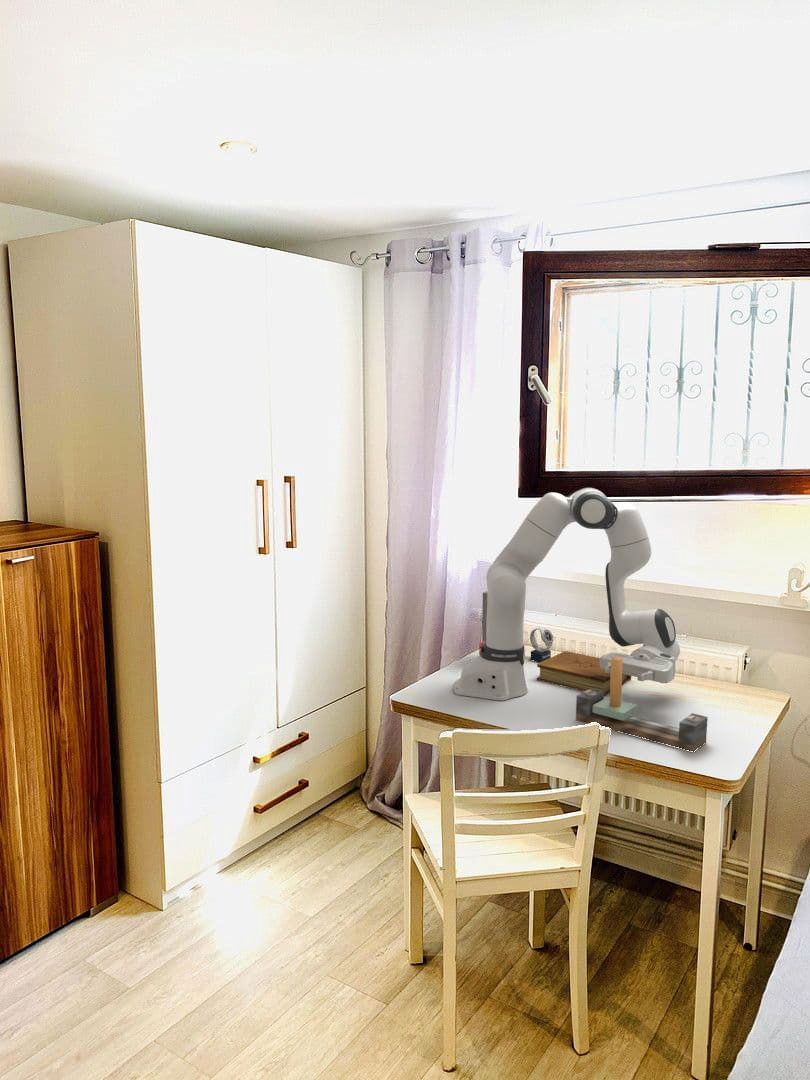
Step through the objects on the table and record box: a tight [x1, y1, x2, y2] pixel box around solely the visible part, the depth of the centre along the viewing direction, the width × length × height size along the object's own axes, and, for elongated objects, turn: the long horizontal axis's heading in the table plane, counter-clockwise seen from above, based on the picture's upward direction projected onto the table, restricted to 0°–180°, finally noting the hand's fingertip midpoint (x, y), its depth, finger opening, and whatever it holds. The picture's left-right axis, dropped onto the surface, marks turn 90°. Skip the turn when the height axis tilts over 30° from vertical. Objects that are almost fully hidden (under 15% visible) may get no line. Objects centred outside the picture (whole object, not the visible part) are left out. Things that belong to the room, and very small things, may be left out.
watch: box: [529, 626, 554, 663], centre depth 278 cm, size 6×8×11 cm
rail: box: [575, 688, 709, 753], centre depth 218 cm, size 33×8×8 cm, turn 49°
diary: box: [536, 650, 632, 697], centre depth 259 cm, size 23×19×6 cm
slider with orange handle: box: [593, 657, 638, 721], centre depth 222 cm, size 9×8×15 cm
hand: (623, 674), depth 225 cm, fingers open, 8 cm apart
